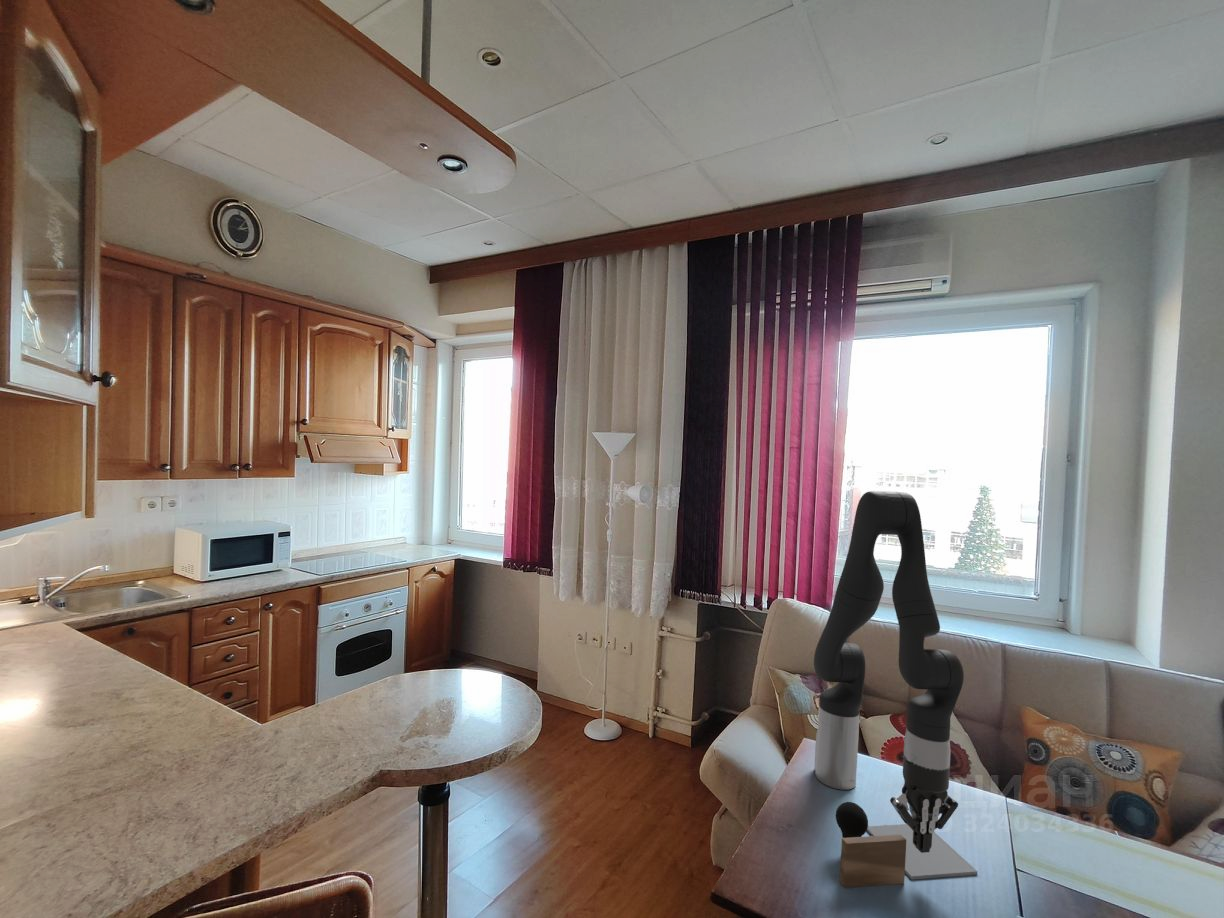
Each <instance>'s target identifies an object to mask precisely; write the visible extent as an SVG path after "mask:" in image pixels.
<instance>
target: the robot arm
mask: <svg viewBox="0 0 1224 918" xmlns="http://www.w3.org/2000/svg"><path fill="white" fill-rule="evenodd" d="M851 531H852V532H851V536H850V537H851V538H850V542H849V547H848V552H847V555H846V557H845V562H844V566H843V569H842V570H841V575H840V578H839V580H838V583H837V587H836V589H835V590H836V591H835V595H834V599H833V602H832V605H831V609H830V612H829V615H828V619H827V621H826V624H825V626H824V628H823V631H822V633H821V635H820V637H819V640H818V642H817V645H816V647H815V651H814V657H813V667H814V669H813V670H814V673H815V674H816V676H817V677H818V678H819V679H820V680H821V681H824V682H829V683H836V685H834V686H833V687H830V688H828V689H825V690H823V691H821V693H820V694H819V697H818V717H817V718H818V721H817V731H816V733H815V746H814V747H815V748H814V750H815V752H814V768H813V769H814V770H815V771H814V773H815V777H816V779H817V780H819V782H821V783H822V784H823V785H825V786H828V787H830V788H833V789H837V790H851V789H854V788H855V787H856V784H857V772H858V771H857V770H858V752H859V732H860V714H861V713H860V710H861V707H862V703H863V699H864V687H865V681H866V680H865V679H866V669H867V668H866V657H865V654H864V652H863V650H862V648H861V646H859V644H857V643H854V642H846V641H848V639H849V637H851V636H852V635H853V634H854V633H855V632H857V631H858V630H859V629H860V628H862V627H863V626H864V625H866V624H867V623H868V622H869V621H870V620H871V618H873V617H874V616H875V614H876V612H877V610H878V608H879V605H880V602H881V599H882V596H883V593H884V587H885V586H884V580H883V579H884V578H883V576H882V573H881V572H880V569H879V566H878V564H877V562H876V559H875V556H874V554H875V553H874V552H875V546H876V542H877V540H878V538H879V536H880V535H888V536H889V535H890V536H891V535H892V536H893V535H895V536H896V537H897V538H898V540H899V541H898V542H899V544H900V550H901V551H900V552H901V554H900V559H899V563H898V568H897V570H896V573H895V577H894V579H893V582H892V587H891V589H892V592H891V596H892V597H891V598H892V603H893V606H894V611H895V614H896V619H897V621H898V622H897V623H898V627H899V628H898V629H899V632H898V633H899V640H898V668H899V672H900V674H901V677H902V678H903V680H904V681H905V683H906V684H907V685H908V686H910V687H911V688H912V689H916V690H926V691H925V692H924V693H922V694H921V695H916V696H915V697H912V698H910V700H909V701H908V704H907V711H906V712H907V714H906V729H905V734H904V739H903V740H904V741H903V758H902V759H903V760H902V761H903V762H902V777H903V780H904V784H903V786H902V789H901V794H900V795H899V796H898V797H897V798H896V797H895V796H892V797H891V798H890V800H889V802H890V804H891V805H892V807H893V808H894V810H895V811H896V812H897V813H898V815H899V817H900V818H901V820H902V821H903V823H904V824H907V825H908V826H909V827H910V828H911V829H912V830H913V844H914V845H915V847H916V848H917V849H918V850H919V851H920V852H921V853H925V852H930V849H931V846H932V833H933V832H935V830H936V829H939V830H942V829H943V828H944V826H945V825H946V824H947V822H948V821H949V819H950V818H951V817H952V816H953V814H954V813H955V811H956V809H958V807H959V802H957V801H956V800H955V799H953V798H952V797H951V796H949V794H948V790H949V787H950V771H951V770H950V769H951V768H950V767H951V744H950V743H951V742H950V740H951V739H950V736H951V717H952V714H953V712H954V710H955V707H956V704H957V702H958V699H959V696H960V694H961V691H962V688H963V685H964V678H965V677H964V676H965V675H964V669H963V665H962V663H961V661H960V659H959V658H958V656H957V655H956V654H955V653H953V652H951V651H950V650H948V649H935V648H934V649H930V648H925V647H924V644H925V639H926V638H928V637H932V636H933V637H934V636H936V635H937V634H939V633H940V631H941V624H940V620H939V617H938V614H937V613H938V612H937V609H936V606H935V603H934V599H933V596H932V591H931V588H930V582H929V579H928V572H927V571H928V570H927V562H926V552H925V551H926V550H925V543H924V542H925V541H924V532H923V524H922V517H921V513H920V508H919V506H918V502H917V500H916V499H915V498H914V496H913V495H911V493H908V492H904V491H890V490H889V491H887V490H885V491H884V490H870V491H866V492H865V493H863V494H862V495H861V497H860V498H859V500H858V503H857V506H856V511H855V515H854V520H853V525H852V530H851ZM909 812H910V813H909ZM940 814H941V815H940ZM939 816H940V817H939Z"/></svg>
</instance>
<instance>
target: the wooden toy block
mask: <svg viewBox="0 0 1224 918" xmlns="http://www.w3.org/2000/svg"><path fill="white" fill-rule="evenodd" d="M840 851H841V852H840V871H839V882H840V884H841V885H842V887H843V888H844V889H845V888H846V889H847V888H858V887H859V888H861V887H873V886H886V885H899V884H900V885H901V883H902V884H905V876H906V875H905V874H906V873H905V858H906V839H905V838H904V837H903V836H902V835H901V834H900V835H884V836H871V835H869V836H861V837H851V838H843V837H841V849H840Z"/></svg>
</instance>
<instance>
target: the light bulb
mask: <svg viewBox="0 0 1224 918" xmlns="http://www.w3.org/2000/svg"><path fill="white" fill-rule="evenodd" d="M835 821H836V824H837V826H838V828H839V829H840V832H841V836H842V837H841V838H851V837H863V836H864V835H865V833H866V832H867V828H868V826H869V820H868V816H867V814H866V812H865V810H864V809H863V808H862V807H861V806H860V805H858V804H857V803H855V802H852V801H845V802H842V803H841V804H839V805H838V806H837V808H836V811H835Z"/></svg>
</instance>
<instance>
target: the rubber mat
mask: <svg viewBox="0 0 1224 918" xmlns="http://www.w3.org/2000/svg"><path fill="white" fill-rule="evenodd" d="M867 831H868V832H869V833H870V834H871V835H870V834H869V833H868V832H867ZM867 831H866V832H867V833H868V834H869V835H870V836H884V835H900V834H901V835H902V836H903V837H904V838H905V839H906V858H905V874H906V875H907V877H908V878H909V879H910V880H921V879H923V880H924V879H925V880H926V879H936V878H948V877H949V878H951V877H961V876H962V877H964V876H975V875H978V870H977V869H975V867H974V866H972V865H971V864H970V863H969V862H968V861H967V860H966V859H965V858H963V857H962V855H960V854H959V853H958V852H957V851H956V850H955V849H954V848H953V847H951V846H950V844H949V843H947V842H946V841H945V840H944V839H943V838H942V837H940V835H938V834H937V833H936V832H935V831H934V832H933V833H932V846H931V849H930V852H925V853H921V852H920V851H919V850H918V849H917V848H916V847H915V845H914V844H913V830H912V829H911V828H910V827H909V826H908V825H907V824H906V823H904V824H903V823H902V824H901V823H899V824H888V825H872V826H871V825H868V828H867Z"/></svg>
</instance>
